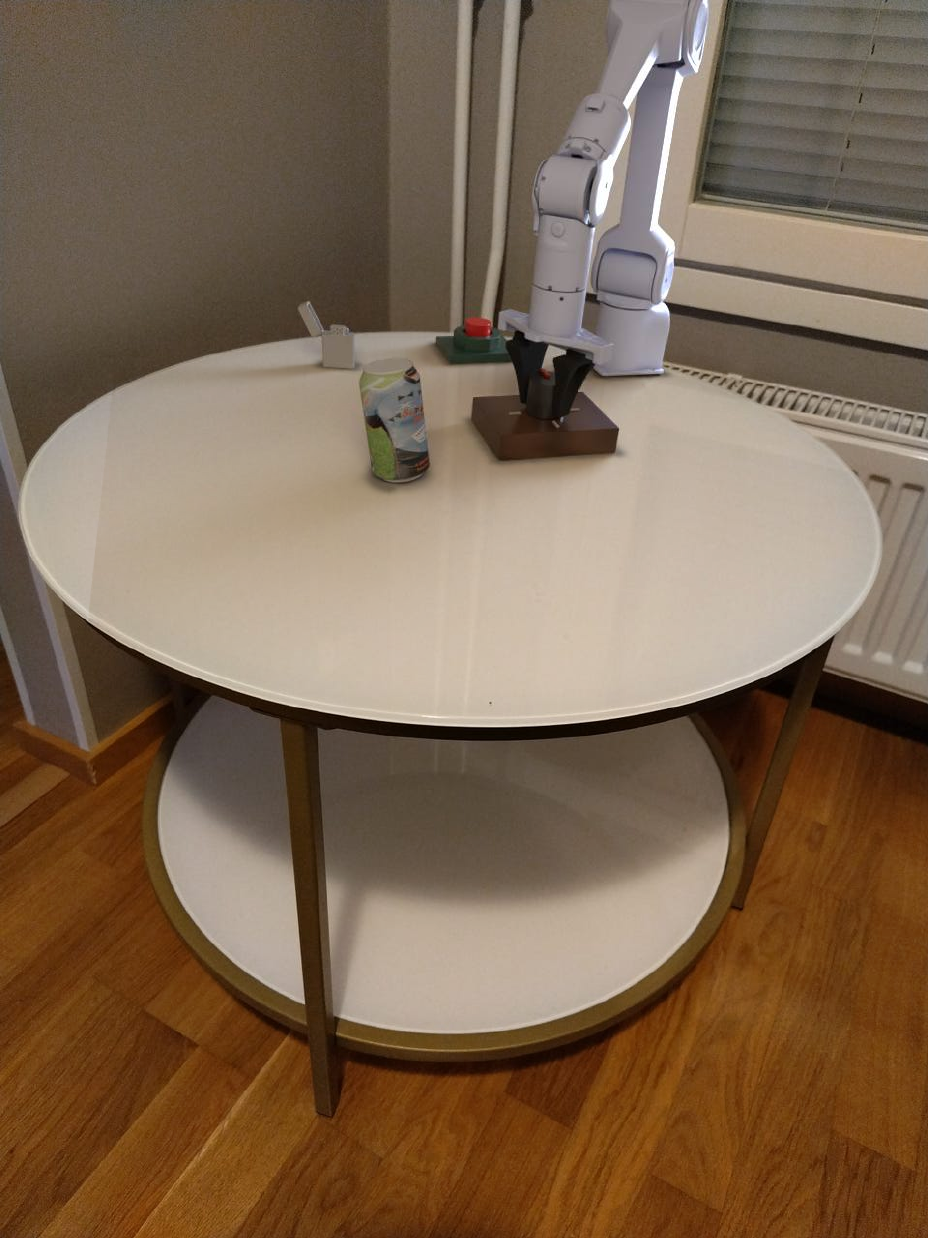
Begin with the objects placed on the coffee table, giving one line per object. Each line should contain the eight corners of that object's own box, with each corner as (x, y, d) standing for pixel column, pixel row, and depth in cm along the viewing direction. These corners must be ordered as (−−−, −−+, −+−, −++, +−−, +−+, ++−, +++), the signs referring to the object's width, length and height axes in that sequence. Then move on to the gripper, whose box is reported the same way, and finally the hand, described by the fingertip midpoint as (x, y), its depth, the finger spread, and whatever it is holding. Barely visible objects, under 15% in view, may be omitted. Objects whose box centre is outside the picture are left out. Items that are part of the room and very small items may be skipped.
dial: (569, 418, 98) (574, 381, 95) (533, 420, 97) (537, 383, 94) (555, 403, 101) (559, 367, 99) (520, 405, 100) (523, 368, 97)
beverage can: (421, 493, 87) (425, 378, 80) (352, 483, 88) (349, 368, 81) (435, 467, 92) (440, 357, 85) (369, 457, 93) (369, 347, 86)
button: (485, 329, 123) (486, 317, 122) (493, 337, 120) (494, 325, 119) (461, 330, 122) (462, 317, 121) (468, 338, 119) (469, 325, 118)
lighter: (355, 364, 116) (354, 303, 111) (353, 368, 114) (352, 307, 110) (302, 360, 116) (299, 299, 111) (300, 364, 114) (297, 303, 110)
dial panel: (579, 414, 107) (582, 389, 105) (615, 452, 98) (619, 426, 96) (470, 420, 103) (472, 395, 101) (498, 460, 95) (501, 434, 93)
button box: (500, 342, 127) (502, 321, 125) (518, 361, 121) (520, 339, 119) (435, 344, 124) (436, 323, 123) (449, 363, 118) (450, 342, 117)
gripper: (483, 274, 92) (474, 396, 100) (591, 308, 84) (572, 437, 92) (526, 265, 96) (514, 383, 104) (632, 297, 89) (611, 421, 97)
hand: (544, 408), depth 99 cm, fingers closed on dial, 4 cm apart
